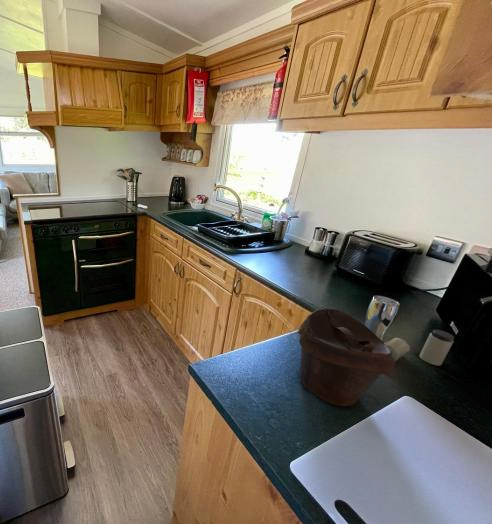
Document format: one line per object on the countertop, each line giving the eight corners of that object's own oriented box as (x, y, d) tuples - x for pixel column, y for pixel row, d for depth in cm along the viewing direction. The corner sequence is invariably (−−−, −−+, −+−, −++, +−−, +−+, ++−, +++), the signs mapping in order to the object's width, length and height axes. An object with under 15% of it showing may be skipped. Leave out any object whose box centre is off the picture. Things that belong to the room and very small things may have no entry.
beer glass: (360, 344, 91) (376, 302, 86) (354, 333, 97) (369, 293, 92) (386, 351, 89) (404, 307, 84) (379, 339, 95) (396, 298, 90)
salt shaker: (405, 337, 86) (391, 345, 81) (412, 354, 85) (399, 363, 80) (385, 338, 90) (372, 346, 86) (392, 354, 89) (379, 363, 85)
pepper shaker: (438, 358, 87) (452, 332, 84) (444, 368, 83) (458, 341, 80) (417, 352, 89) (429, 327, 86) (421, 361, 85) (434, 334, 82)
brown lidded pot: (361, 435, 60) (393, 365, 54) (272, 376, 75) (289, 316, 69) (388, 398, 70) (417, 336, 64) (305, 353, 85) (322, 299, 79)
